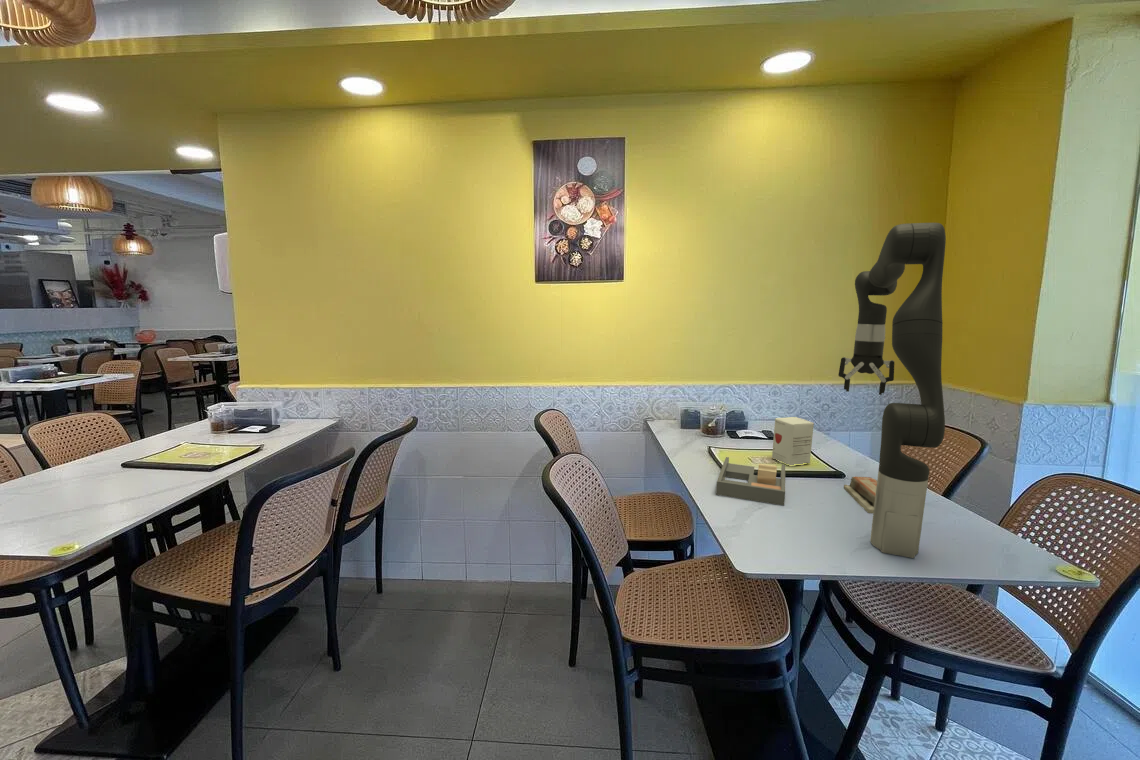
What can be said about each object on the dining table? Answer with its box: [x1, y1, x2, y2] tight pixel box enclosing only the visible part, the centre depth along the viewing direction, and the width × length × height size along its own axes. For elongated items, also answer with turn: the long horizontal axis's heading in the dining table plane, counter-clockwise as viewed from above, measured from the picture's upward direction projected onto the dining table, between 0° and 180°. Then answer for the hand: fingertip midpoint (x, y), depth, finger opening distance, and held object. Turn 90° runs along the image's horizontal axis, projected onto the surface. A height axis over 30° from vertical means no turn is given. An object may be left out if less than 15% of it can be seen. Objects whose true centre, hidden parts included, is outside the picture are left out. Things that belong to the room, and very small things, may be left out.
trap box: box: [715, 456, 786, 506], centre depth 147 cm, size 24×18×4 cm
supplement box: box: [771, 416, 815, 465], centre depth 168 cm, size 9×9×15 cm
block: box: [757, 463, 778, 485], centre depth 146 cm, size 6×5×4 cm
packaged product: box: [843, 476, 877, 514], centre depth 136 cm, size 18×5×10 cm
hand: (863, 392), depth 148 cm, fingers open, 8 cm apart
